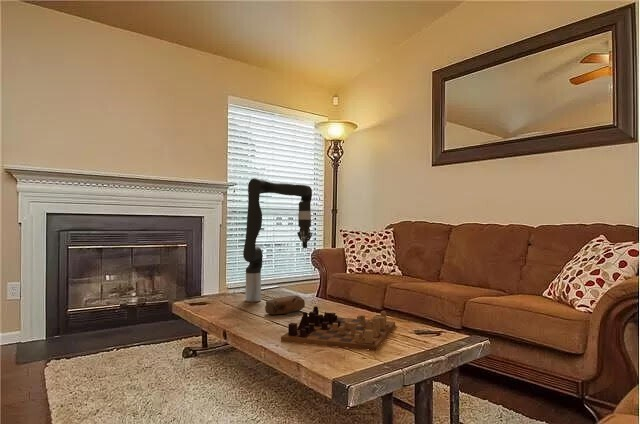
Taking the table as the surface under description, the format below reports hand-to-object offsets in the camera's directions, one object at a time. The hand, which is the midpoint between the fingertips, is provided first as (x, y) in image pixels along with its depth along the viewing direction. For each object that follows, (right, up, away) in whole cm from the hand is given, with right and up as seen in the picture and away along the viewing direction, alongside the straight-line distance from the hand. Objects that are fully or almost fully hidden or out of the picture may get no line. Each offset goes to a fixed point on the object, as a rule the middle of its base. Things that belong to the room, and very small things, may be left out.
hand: (304, 248), depth 254 cm
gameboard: (+18, -33, -64) cm, 74 cm away
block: (-2, -28, -17) cm, 33 cm away
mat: (-11, -33, -18) cm, 39 cm away
